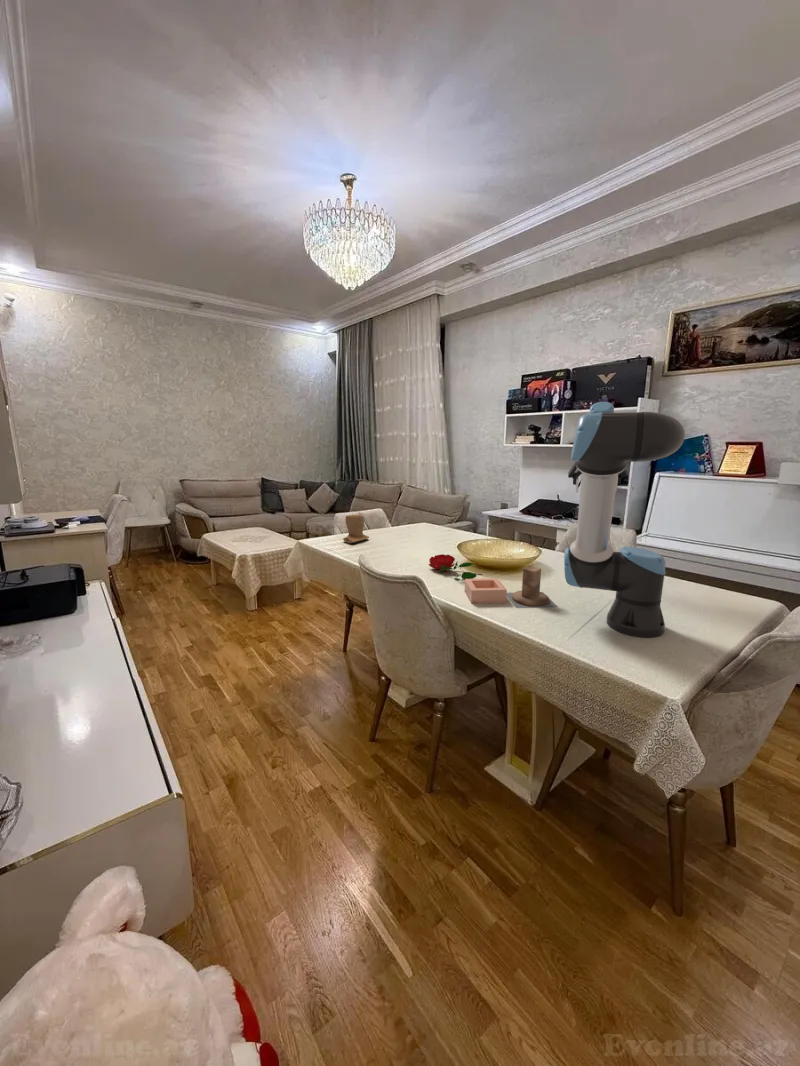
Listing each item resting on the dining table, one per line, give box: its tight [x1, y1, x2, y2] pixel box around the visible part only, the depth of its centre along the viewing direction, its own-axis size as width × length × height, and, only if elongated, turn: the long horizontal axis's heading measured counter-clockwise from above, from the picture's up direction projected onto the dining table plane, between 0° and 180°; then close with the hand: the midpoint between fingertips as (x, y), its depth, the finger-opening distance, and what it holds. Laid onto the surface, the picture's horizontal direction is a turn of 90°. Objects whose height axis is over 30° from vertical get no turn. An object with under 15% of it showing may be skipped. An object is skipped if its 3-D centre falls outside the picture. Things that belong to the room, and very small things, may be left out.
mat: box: [506, 591, 559, 609], centre depth 149 cm, size 14×14×1 cm
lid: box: [512, 565, 550, 606], centre depth 147 cm, size 12×12×11 cm
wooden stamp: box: [342, 513, 370, 544], centre depth 234 cm, size 15×12×15 cm
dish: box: [464, 577, 508, 604], centre depth 152 cm, size 12×12×5 cm
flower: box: [428, 554, 484, 581], centre depth 174 cm, size 9×9×30 cm
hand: (595, 490), depth 168 cm, fingers open, 13 cm apart
